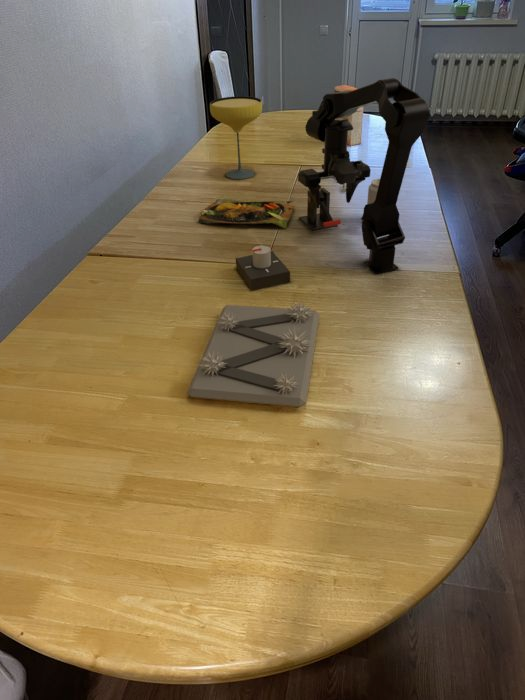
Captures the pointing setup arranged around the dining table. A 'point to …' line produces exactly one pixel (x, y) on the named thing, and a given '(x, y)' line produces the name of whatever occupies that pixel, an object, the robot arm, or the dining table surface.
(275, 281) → the dial panel
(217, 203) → the prepared meal
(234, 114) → the cocktail glass
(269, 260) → the knob
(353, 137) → the cracker box
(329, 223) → the toast lever
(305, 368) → the decorative plate
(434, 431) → the dining table surface
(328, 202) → the dark grey lever stand
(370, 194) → the can
